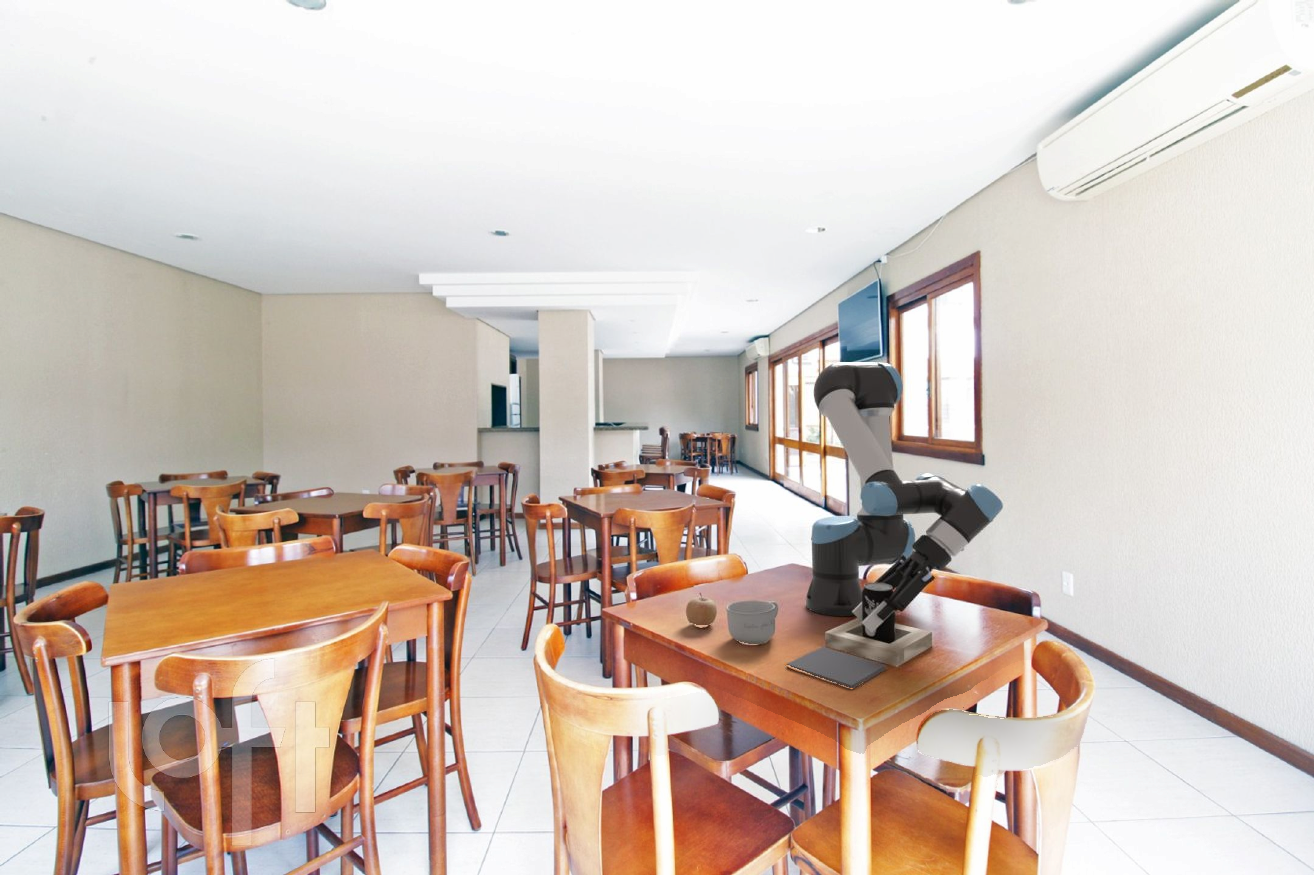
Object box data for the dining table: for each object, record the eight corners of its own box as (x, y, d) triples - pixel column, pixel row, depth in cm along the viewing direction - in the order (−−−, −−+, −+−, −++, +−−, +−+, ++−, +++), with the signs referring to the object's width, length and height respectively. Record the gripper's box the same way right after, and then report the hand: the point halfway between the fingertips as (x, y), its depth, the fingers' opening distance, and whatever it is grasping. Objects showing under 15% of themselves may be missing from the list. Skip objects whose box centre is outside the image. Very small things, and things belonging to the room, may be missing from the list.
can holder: (825, 646, 129) (824, 632, 129) (862, 628, 140) (862, 615, 140) (897, 666, 117) (897, 651, 117) (932, 645, 128) (932, 631, 128)
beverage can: (897, 647, 125) (897, 590, 124) (864, 646, 126) (864, 589, 126) (892, 636, 131) (891, 582, 131) (860, 635, 132) (860, 581, 132)
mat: (786, 667, 118) (786, 663, 118) (822, 650, 127) (822, 646, 127) (851, 689, 108) (851, 685, 108) (886, 669, 116) (886, 664, 116)
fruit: (681, 623, 146) (680, 591, 146) (708, 619, 149) (707, 587, 148) (694, 633, 139) (694, 599, 139) (722, 628, 141) (722, 595, 141)
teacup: (745, 653, 126) (745, 615, 126) (717, 637, 136) (716, 602, 135) (797, 641, 132) (796, 605, 132) (766, 627, 142) (766, 593, 142)
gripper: (973, 569, 118) (889, 651, 119) (932, 548, 137) (860, 619, 138) (945, 542, 118) (862, 624, 119) (908, 525, 137) (837, 596, 138)
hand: (861, 621), depth 129 cm, fingers closed on beverage can, 6 cm apart
